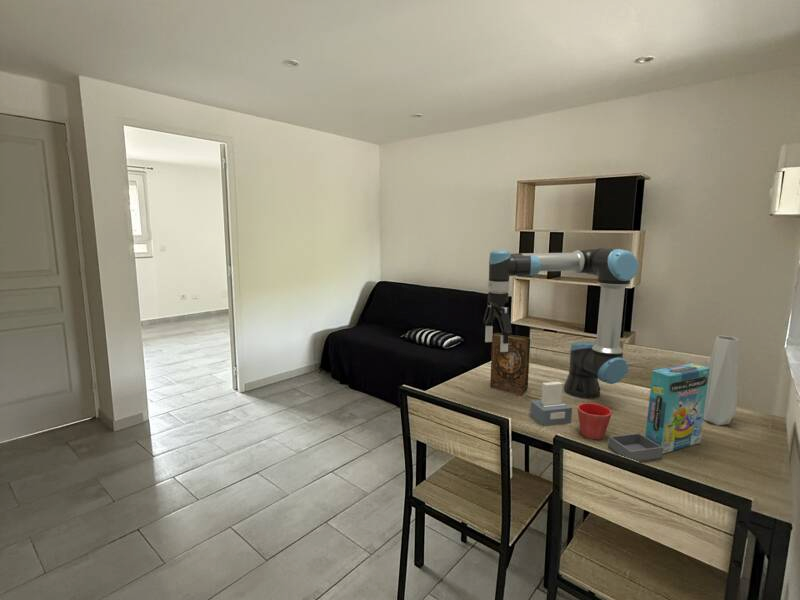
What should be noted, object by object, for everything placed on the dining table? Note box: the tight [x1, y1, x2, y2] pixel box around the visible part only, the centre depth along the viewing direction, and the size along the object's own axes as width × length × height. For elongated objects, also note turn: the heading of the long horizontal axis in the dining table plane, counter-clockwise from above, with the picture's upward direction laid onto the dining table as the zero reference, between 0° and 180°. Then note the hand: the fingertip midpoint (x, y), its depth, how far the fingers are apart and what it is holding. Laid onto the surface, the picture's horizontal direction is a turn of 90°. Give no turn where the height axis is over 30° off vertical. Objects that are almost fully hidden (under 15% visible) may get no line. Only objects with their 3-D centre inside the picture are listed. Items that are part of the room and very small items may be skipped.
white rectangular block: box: [541, 381, 564, 406], centre depth 162 cm, size 7×2×12 cm, turn 102°
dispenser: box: [529, 399, 573, 426], centre depth 163 cm, size 12×9×6 cm
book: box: [489, 332, 531, 395], centre depth 191 cm, size 16×6×25 cm, turn 58°
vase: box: [703, 335, 740, 426], centre depth 160 cm, size 12×12×33 cm
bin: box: [607, 432, 664, 463], centre depth 139 cm, size 12×10×4 cm
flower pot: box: [577, 402, 613, 440], centre depth 151 cm, size 11×11×10 cm
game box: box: [644, 362, 710, 455], centre depth 142 cm, size 20×6×27 cm, turn 114°
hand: (496, 346), depth 162 cm, fingers open, 13 cm apart
